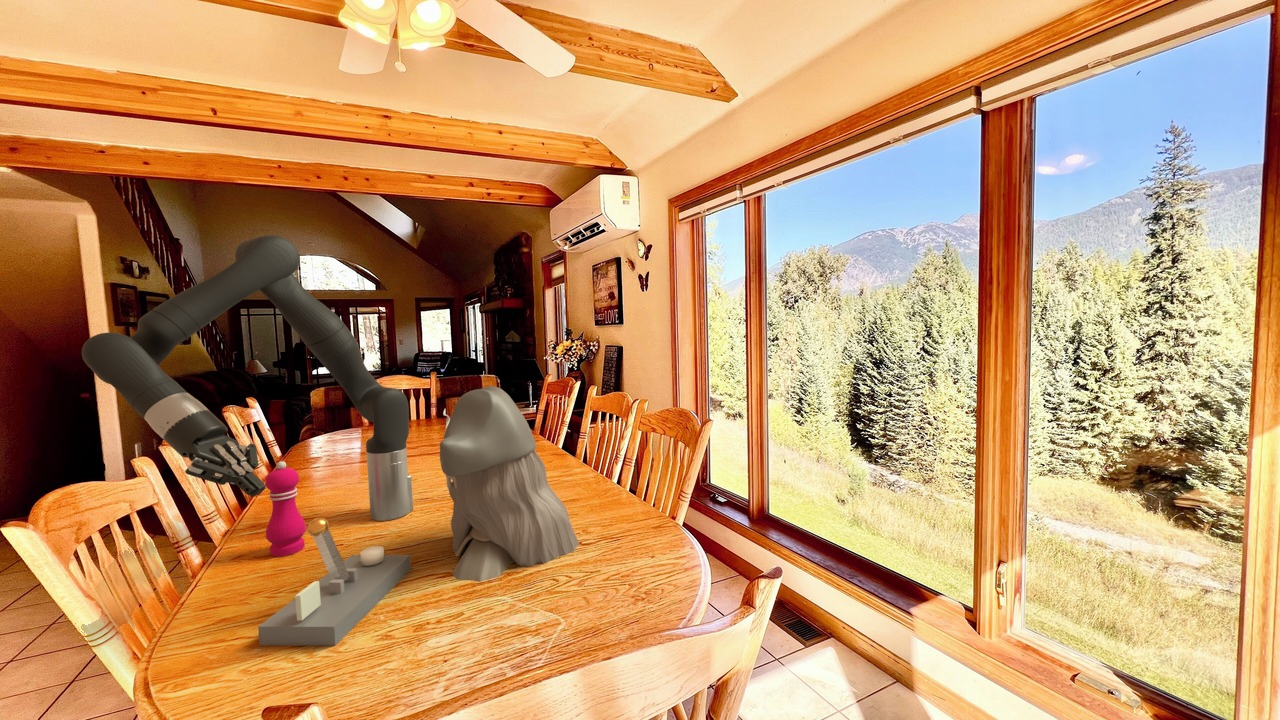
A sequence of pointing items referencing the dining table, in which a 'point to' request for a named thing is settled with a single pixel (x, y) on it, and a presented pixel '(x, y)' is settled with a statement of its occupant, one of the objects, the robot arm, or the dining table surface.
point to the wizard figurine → (499, 489)
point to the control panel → (336, 604)
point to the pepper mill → (284, 512)
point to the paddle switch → (307, 600)
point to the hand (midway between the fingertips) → (259, 492)
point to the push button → (372, 555)
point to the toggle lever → (328, 548)
